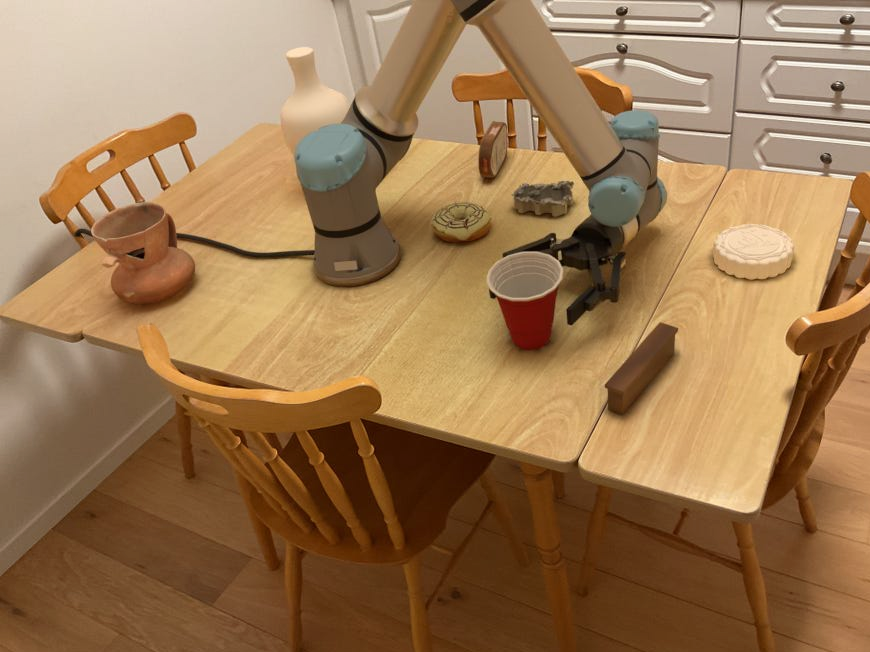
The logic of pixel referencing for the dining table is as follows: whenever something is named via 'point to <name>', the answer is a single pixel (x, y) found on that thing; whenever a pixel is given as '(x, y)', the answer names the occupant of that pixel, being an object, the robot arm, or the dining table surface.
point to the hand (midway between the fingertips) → (528, 304)
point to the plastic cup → (527, 295)
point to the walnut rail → (640, 368)
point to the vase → (309, 100)
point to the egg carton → (544, 198)
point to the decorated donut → (461, 222)
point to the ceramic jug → (143, 253)
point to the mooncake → (753, 251)
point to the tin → (493, 149)
